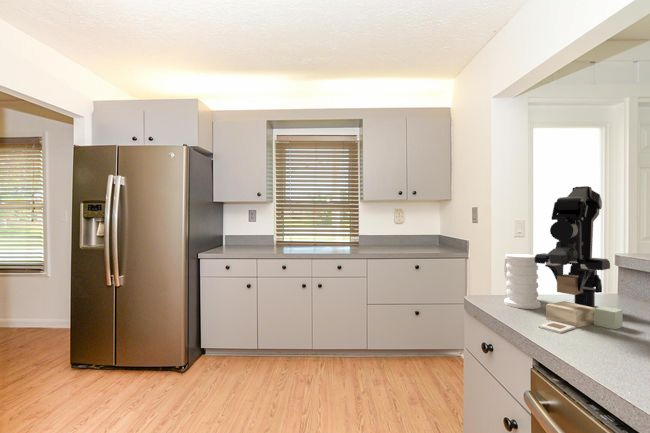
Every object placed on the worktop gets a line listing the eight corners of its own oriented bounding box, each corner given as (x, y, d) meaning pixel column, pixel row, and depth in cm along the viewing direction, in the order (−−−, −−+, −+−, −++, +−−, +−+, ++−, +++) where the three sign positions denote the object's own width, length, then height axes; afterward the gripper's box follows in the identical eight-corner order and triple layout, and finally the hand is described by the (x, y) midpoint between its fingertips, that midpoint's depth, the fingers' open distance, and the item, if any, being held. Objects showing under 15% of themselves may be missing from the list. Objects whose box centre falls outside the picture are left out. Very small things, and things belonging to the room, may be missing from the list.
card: (552, 322, 107) (552, 320, 107) (574, 328, 102) (574, 326, 102) (538, 327, 103) (538, 325, 103) (560, 333, 98) (560, 331, 98)
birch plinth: (564, 316, 115) (564, 301, 115) (594, 324, 107) (594, 307, 106) (546, 320, 111) (546, 304, 111) (576, 328, 103) (576, 311, 103)
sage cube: (602, 322, 108) (602, 306, 108) (622, 326, 104) (622, 309, 104) (594, 325, 105) (594, 308, 105) (615, 329, 101) (614, 312, 101)
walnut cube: (565, 289, 112) (565, 274, 112) (583, 292, 108) (583, 276, 108) (556, 291, 110) (556, 275, 110) (574, 295, 105) (574, 278, 105)
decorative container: (507, 299, 137) (506, 253, 137) (542, 303, 130) (541, 254, 130) (501, 305, 127) (501, 256, 127) (539, 310, 121) (538, 258, 120)
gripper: (524, 238, 113) (524, 286, 113) (592, 242, 96) (592, 298, 97) (543, 236, 118) (543, 282, 118) (610, 239, 102) (610, 293, 102)
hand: (569, 289), depth 109 cm, fingers closed on walnut cube, 5 cm apart
